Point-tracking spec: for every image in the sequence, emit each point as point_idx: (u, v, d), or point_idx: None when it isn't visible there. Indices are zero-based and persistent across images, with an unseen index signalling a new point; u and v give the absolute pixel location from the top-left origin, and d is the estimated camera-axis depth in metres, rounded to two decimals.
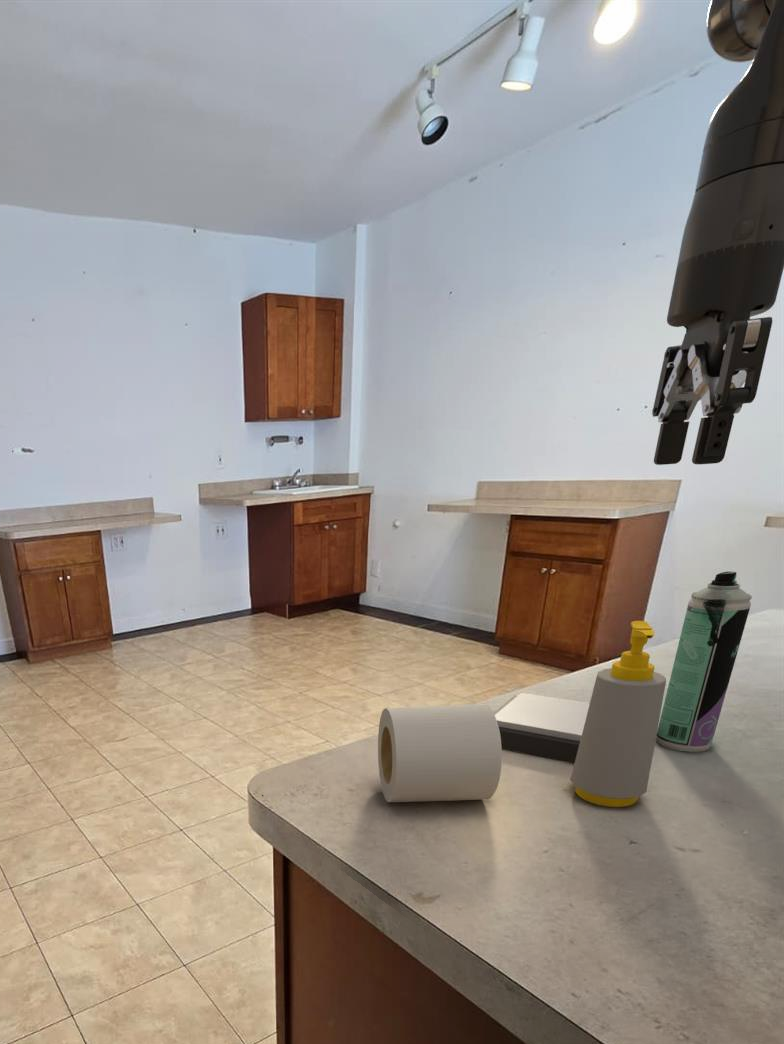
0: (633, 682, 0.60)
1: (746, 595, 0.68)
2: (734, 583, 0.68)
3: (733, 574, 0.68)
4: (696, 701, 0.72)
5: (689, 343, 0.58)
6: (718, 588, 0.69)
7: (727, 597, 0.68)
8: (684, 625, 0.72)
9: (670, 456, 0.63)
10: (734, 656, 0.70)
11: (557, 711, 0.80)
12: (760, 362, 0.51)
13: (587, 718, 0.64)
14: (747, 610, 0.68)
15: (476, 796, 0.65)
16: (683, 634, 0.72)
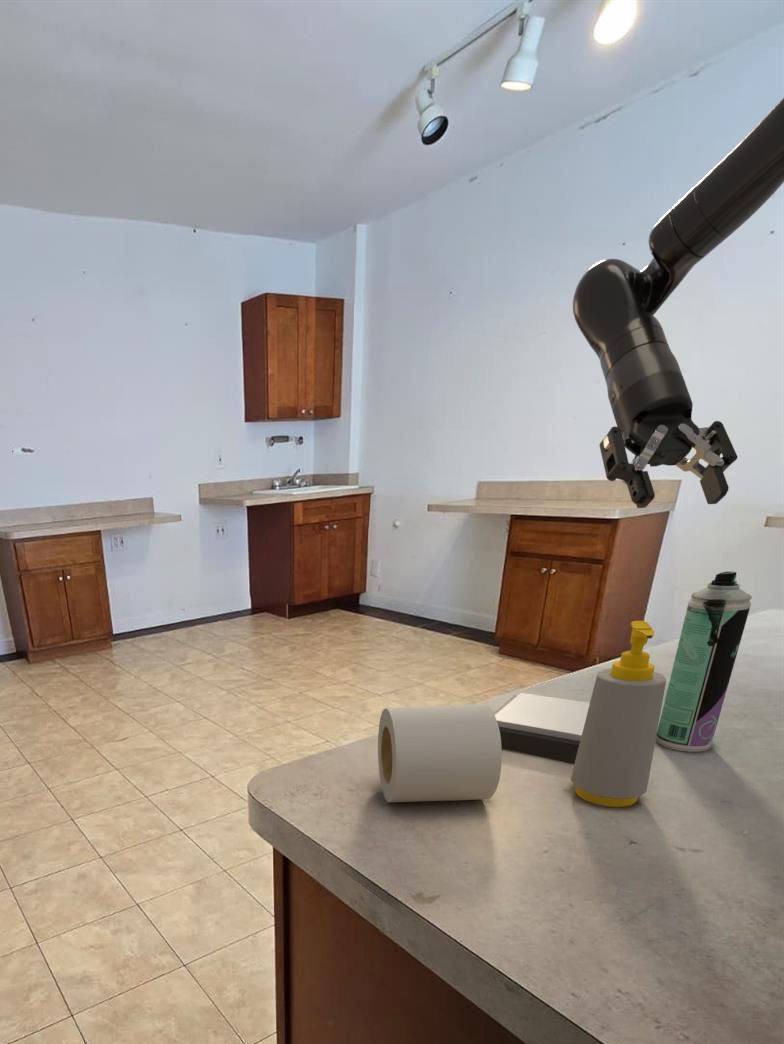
0: (633, 681, 0.60)
1: (746, 595, 0.68)
2: (734, 583, 0.68)
3: (733, 574, 0.68)
4: (696, 701, 0.72)
5: None
6: (718, 588, 0.69)
7: (727, 597, 0.68)
8: (684, 625, 0.72)
9: (714, 494, 0.75)
10: (734, 656, 0.70)
11: (557, 711, 0.80)
12: (613, 448, 0.76)
13: (587, 718, 0.64)
14: (747, 610, 0.68)
15: (476, 796, 0.65)
16: (683, 634, 0.72)
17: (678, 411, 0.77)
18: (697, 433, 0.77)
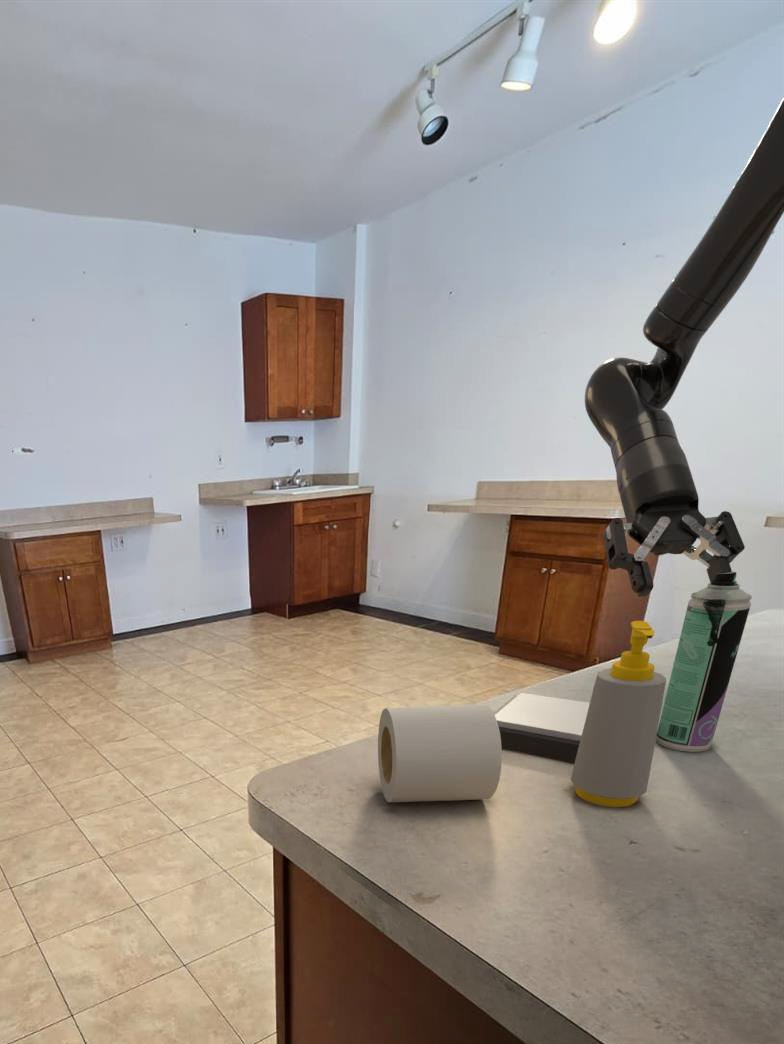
0: (633, 681, 0.60)
1: (746, 595, 0.68)
2: (734, 583, 0.68)
3: (733, 574, 0.68)
4: (696, 701, 0.72)
5: None
6: (718, 588, 0.69)
7: (727, 597, 0.68)
8: (684, 625, 0.72)
9: None
10: (734, 656, 0.70)
11: (557, 711, 0.80)
12: (614, 539, 0.79)
13: (587, 718, 0.64)
14: (747, 610, 0.68)
15: (476, 796, 0.65)
16: (683, 634, 0.72)
17: (683, 502, 0.78)
18: (703, 523, 0.78)
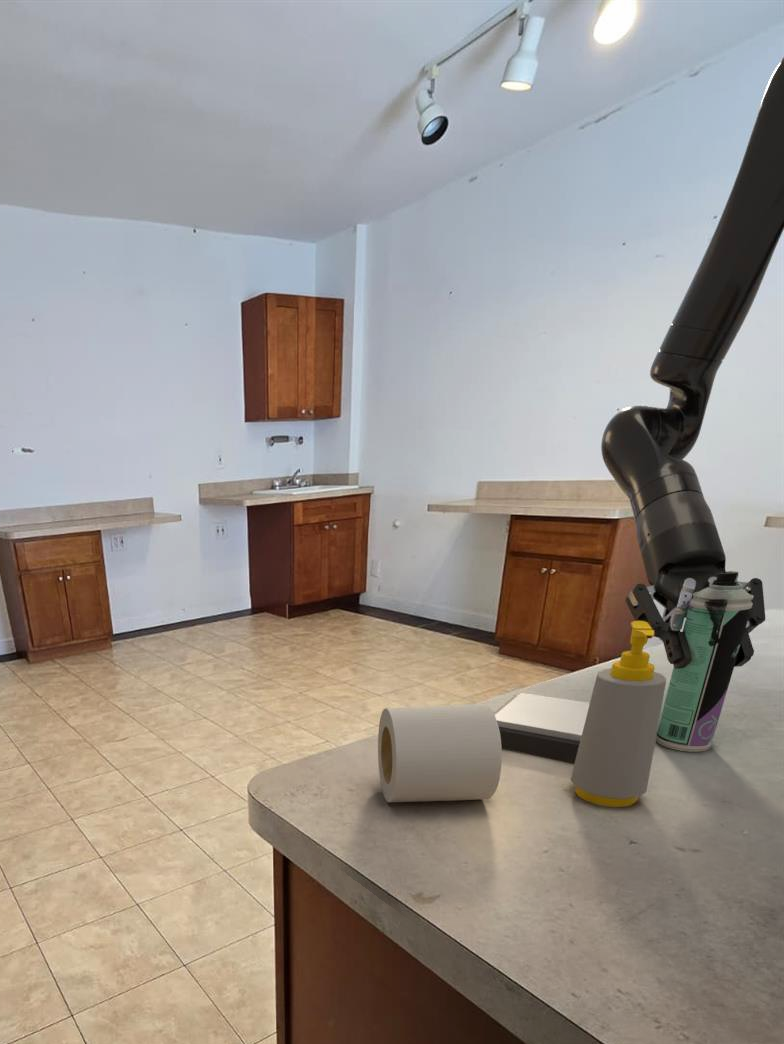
0: (633, 681, 0.60)
1: (748, 595, 0.68)
2: (736, 583, 0.68)
3: (735, 574, 0.68)
4: (696, 700, 0.72)
5: None
6: (719, 588, 0.68)
7: (729, 597, 0.68)
8: (685, 625, 0.72)
9: (737, 657, 0.71)
10: (735, 656, 0.70)
11: (557, 711, 0.80)
12: (644, 608, 0.73)
13: (587, 718, 0.64)
14: (748, 610, 0.68)
15: (476, 796, 0.65)
16: None
17: (709, 562, 0.73)
18: None
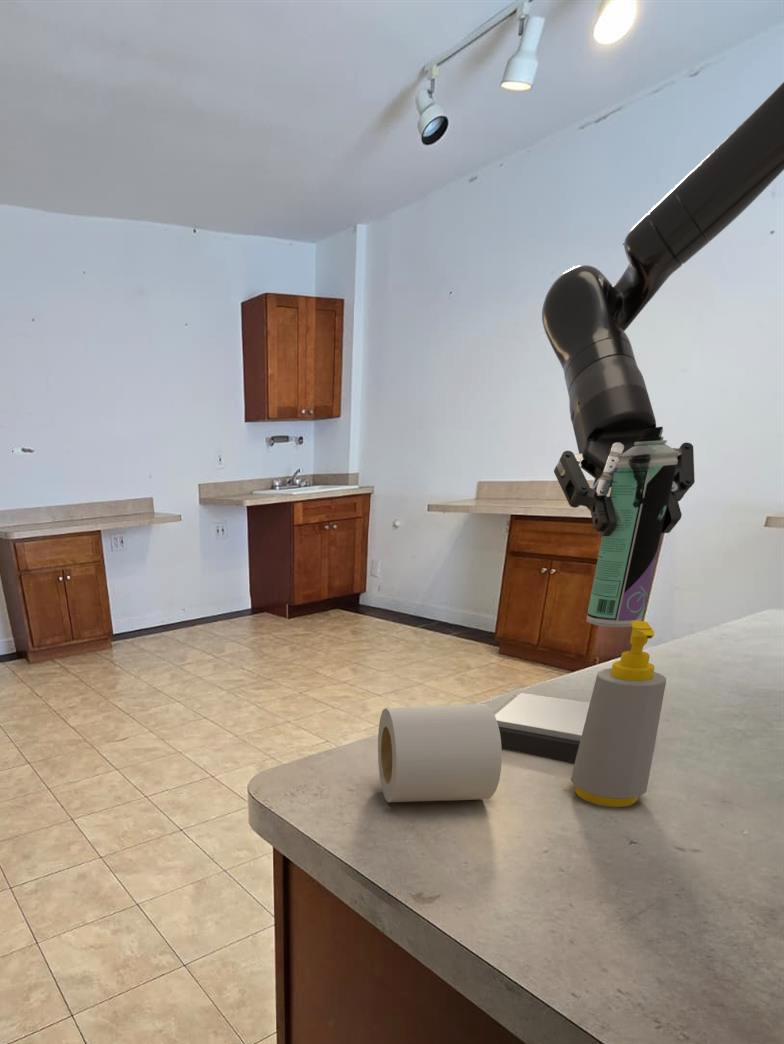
0: (633, 681, 0.60)
1: (672, 450, 0.65)
2: (660, 438, 0.65)
3: (659, 428, 0.65)
4: (623, 570, 0.69)
5: None
6: (643, 444, 0.65)
7: (652, 452, 0.64)
8: (611, 489, 0.69)
9: (665, 522, 0.68)
10: (662, 519, 0.67)
11: (557, 711, 0.80)
12: (570, 474, 0.70)
13: (587, 718, 0.64)
14: (673, 466, 0.65)
15: (476, 796, 0.65)
16: None
17: (639, 427, 0.70)
18: None
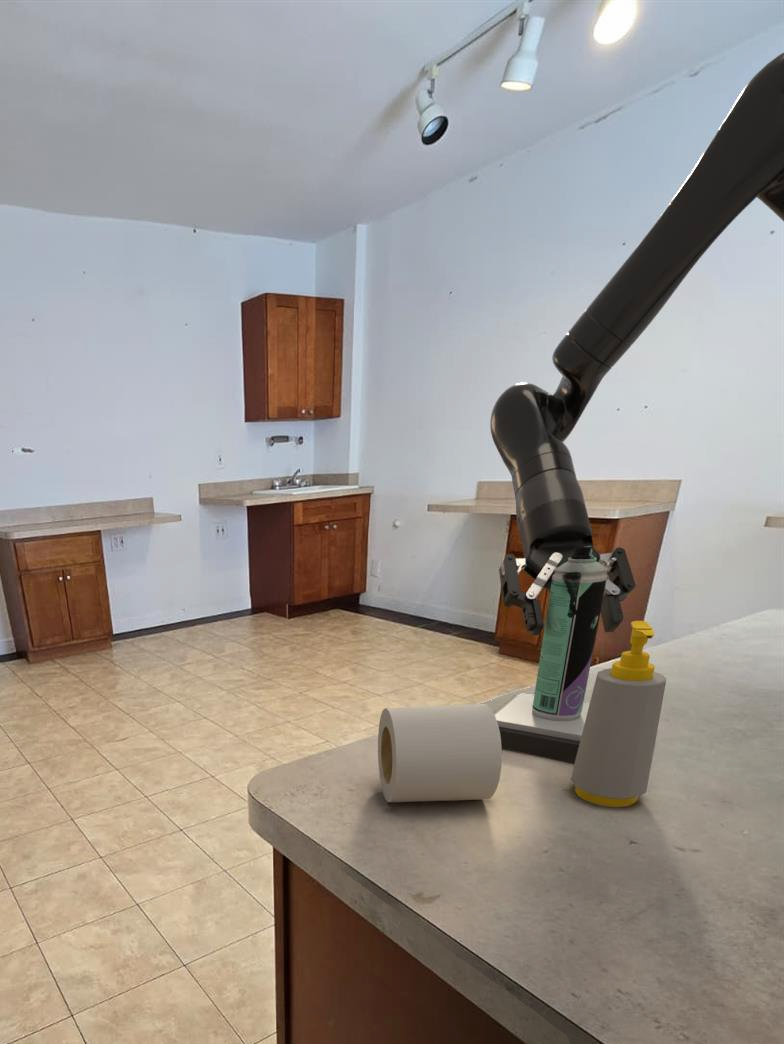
0: (633, 681, 0.60)
1: (601, 568, 0.71)
2: (590, 556, 0.71)
3: (589, 548, 0.71)
4: (561, 671, 0.75)
5: None
6: (575, 561, 0.71)
7: (583, 570, 0.71)
8: (549, 598, 0.75)
9: (608, 623, 0.74)
10: (595, 628, 0.73)
11: None
12: (506, 576, 0.77)
13: (587, 718, 0.64)
14: (602, 582, 0.71)
15: (476, 796, 0.65)
16: (548, 607, 0.75)
17: (576, 538, 0.76)
18: (597, 559, 0.76)
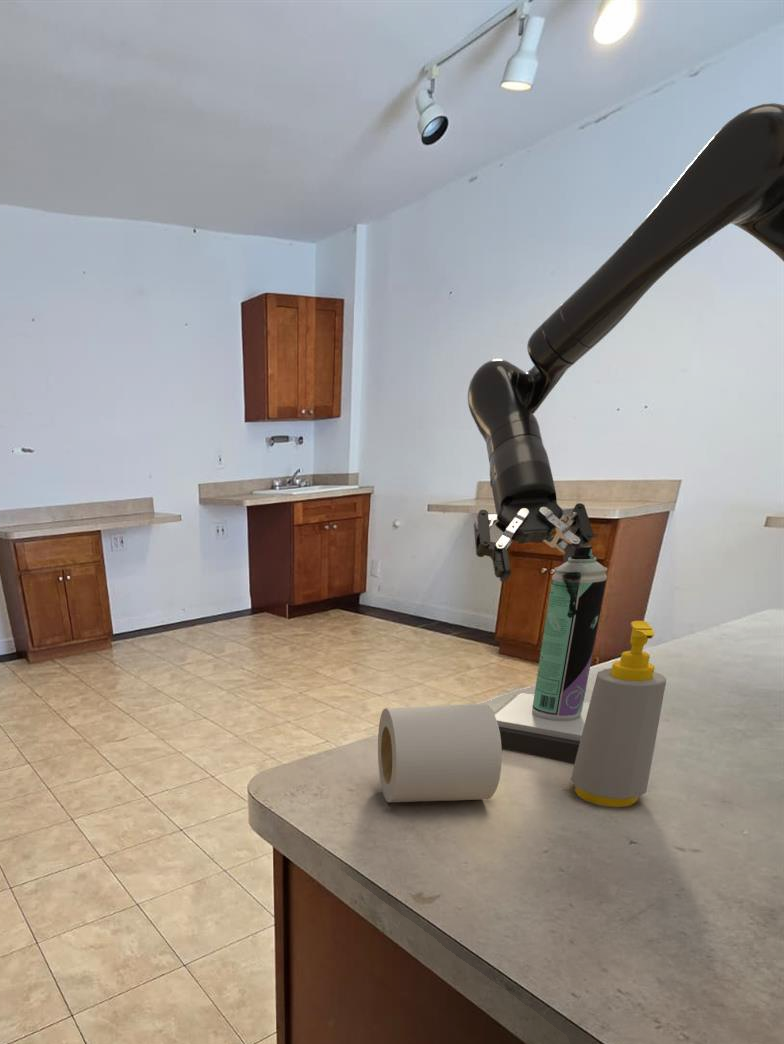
0: (633, 681, 0.60)
1: (601, 568, 0.71)
2: (590, 556, 0.71)
3: (589, 548, 0.71)
4: (561, 671, 0.75)
5: None
6: (575, 561, 0.71)
7: (582, 570, 0.71)
8: (549, 598, 0.75)
9: None
10: (594, 628, 0.73)
11: None
12: (479, 529, 0.86)
13: (587, 718, 0.64)
14: (602, 582, 0.71)
15: (476, 796, 0.65)
16: (548, 607, 0.75)
17: (541, 495, 0.86)
18: (559, 514, 0.85)
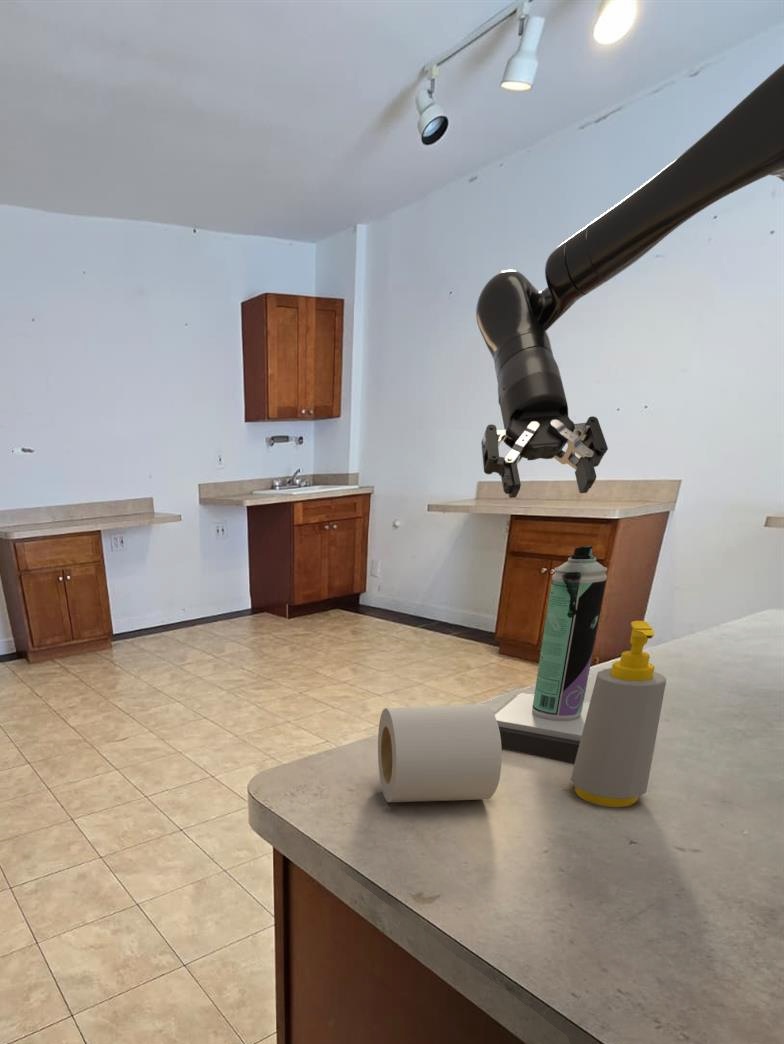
0: (633, 681, 0.60)
1: (601, 568, 0.71)
2: (590, 556, 0.71)
3: (588, 548, 0.71)
4: (561, 671, 0.75)
5: None
6: (575, 561, 0.71)
7: (582, 570, 0.71)
8: (549, 598, 0.75)
9: (583, 483, 0.80)
10: (594, 628, 0.73)
11: None
12: (487, 444, 0.82)
13: (587, 718, 0.64)
14: (602, 582, 0.71)
15: (476, 796, 0.65)
16: (548, 607, 0.75)
17: (553, 408, 0.82)
18: (571, 428, 0.81)
